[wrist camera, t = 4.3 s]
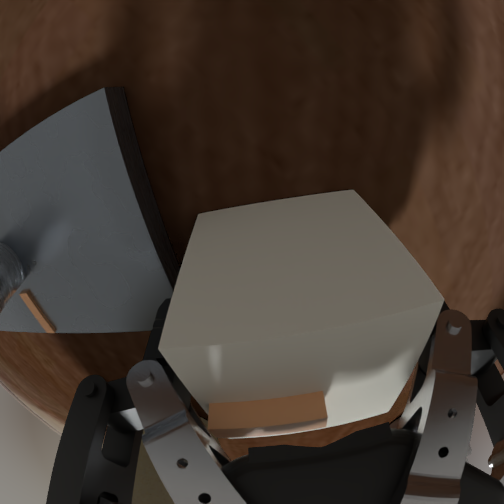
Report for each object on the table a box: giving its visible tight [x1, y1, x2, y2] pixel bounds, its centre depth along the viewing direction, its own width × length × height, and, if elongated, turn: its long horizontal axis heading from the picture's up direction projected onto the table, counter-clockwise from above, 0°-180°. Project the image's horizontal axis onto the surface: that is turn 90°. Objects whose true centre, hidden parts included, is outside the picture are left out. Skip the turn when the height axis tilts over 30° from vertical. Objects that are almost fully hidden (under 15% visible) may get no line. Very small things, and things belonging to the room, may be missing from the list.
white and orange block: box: [158, 190, 445, 439], centre depth 9 cm, size 6×6×7 cm
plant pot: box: [132, 417, 221, 504], centre depth 15 cm, size 15×15×16 cm
